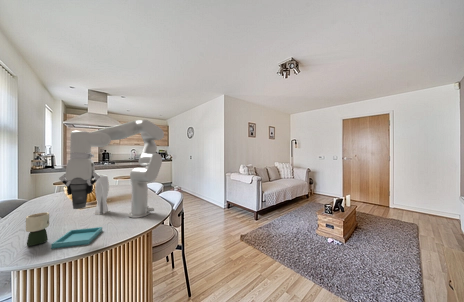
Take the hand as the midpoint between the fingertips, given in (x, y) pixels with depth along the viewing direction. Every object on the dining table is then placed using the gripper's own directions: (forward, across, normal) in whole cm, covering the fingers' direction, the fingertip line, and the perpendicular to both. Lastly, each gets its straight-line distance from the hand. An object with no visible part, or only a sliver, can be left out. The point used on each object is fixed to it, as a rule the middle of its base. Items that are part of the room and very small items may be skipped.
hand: (80, 193), depth 82 cm
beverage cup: (+7, 0, 0) cm, 7 cm away
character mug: (+22, +16, 0) cm, 27 cm away
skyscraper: (+22, +6, -39) cm, 45 cm away
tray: (+22, 0, 0) cm, 22 cm away
